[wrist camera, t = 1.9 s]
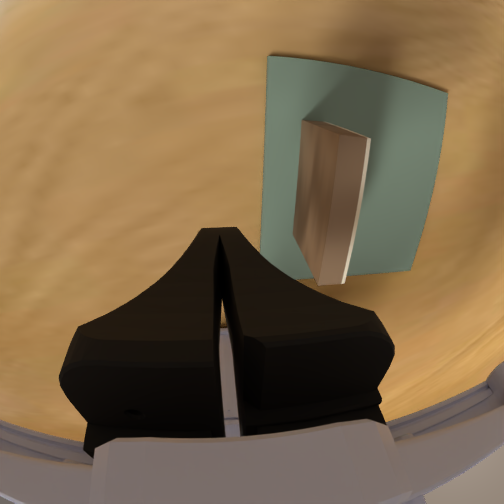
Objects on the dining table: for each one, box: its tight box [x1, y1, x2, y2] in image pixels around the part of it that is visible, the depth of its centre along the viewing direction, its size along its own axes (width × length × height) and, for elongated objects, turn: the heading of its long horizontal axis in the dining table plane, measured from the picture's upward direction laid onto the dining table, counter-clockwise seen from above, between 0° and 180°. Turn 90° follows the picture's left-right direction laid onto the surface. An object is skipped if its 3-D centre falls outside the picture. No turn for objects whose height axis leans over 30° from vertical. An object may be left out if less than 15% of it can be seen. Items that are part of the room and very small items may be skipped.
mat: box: [260, 56, 448, 280], centre depth 20 cm, size 16×14×1 cm
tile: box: [292, 120, 371, 286], centre depth 16 cm, size 8×2×6 cm, turn 178°
